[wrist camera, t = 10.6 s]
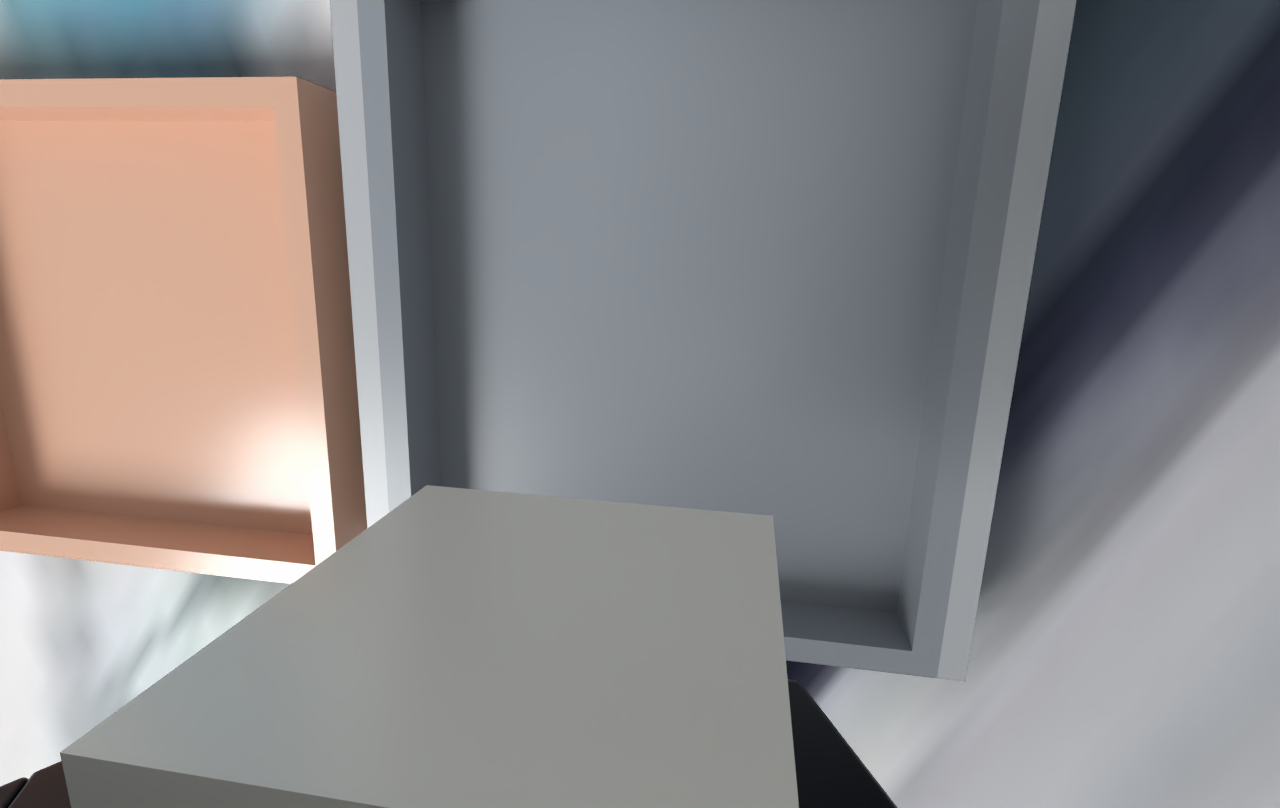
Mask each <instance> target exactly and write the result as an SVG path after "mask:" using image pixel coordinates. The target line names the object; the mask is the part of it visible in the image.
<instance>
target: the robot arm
mask: <svg viewBox="0 0 1280 808" xmlns="http://www.w3.org/2000/svg"><path fill="white" fill-rule="evenodd" d="M788 690H789V701H790V712H791V724H792V735H793V746H794V757H795V769H796V780H797V791H798V802H799V808H897V806H896V805H895V804H894V802H893V801H892V800H891V799H890V797H889V796H888V795H887V793H886V792H885V791H884V790H883V788H882V787H881V786H880V784H879V783H878V782H877V781H876V779H875V778H874V777H873V775H872V774H871V773H870V772H869V770H868V769H867V768H866V766H865V765H864V764H863V763H862V761H861V760H860V759H859V757H858V756H857V755H856V754H855V752H854V751H853V750H852V748H851V747H850V746H849V745H848V743H847V742H846V741H845V739H844V738H843V737H842V736H841V734H840V733H839V732H838V730H837V729H836V728H835V727H834V725H833V724H832V723H831V721H830V720H829V719H828V717H827V716H826V715H825V714H824V712H823V711H822V710H821V708H820V707H819V706H818V705H817V703H816V702H815V701H814V699H813V698H812V697H811V696H810V694H809V693H808V692H807V690H806V689H805V688H804V687H803V685H802V684H801V683H800V682H798V681H796V680H791V679H788ZM0 808H71V804H70V799H69V794H68V789H67V784H66V779H65V774H64V770H63V765H62V761H61V762H58V763H56V764H54V765H51V766H49V767H47V768H44V769H42V770H39V771H37V772H35V773H34V774H33V775H32V776H31V777H30V778H29V779H27V778H20V779H17V780H15V781H13V782H10V783H8V784H6V785H3V786H1V787H0Z"/></svg>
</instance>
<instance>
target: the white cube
mask: <svg viewBox="0 0 1280 808" xmlns="http://www.w3.org/2000/svg"><path fill="white" fill-rule="evenodd" d="M60 755H61V760H62V765H63V770H64V774H65V779H66V784H67V789H68V794H69V799H70V804H71V808H799V802H798V791H797V780H796V769H795V757H794V746H793V735H792V724H791V712H790V701H789V690H788V679H787V667H786V656H785V645H784V634H783V623H782V611H781V600H780V589H779V578H778V566H777V555H776V544H775V533H774V521H773V516H769V515H758V514H747V513H735V512H724V511H713V510H701V509H690V508H679V507H668V506H656V505H645V504H634V503H622V502H611V501H600V500H588V499H577V498H566V497H555V496H543V495H532V494H521V493H509V492H498V491H487V490H475V489H464V488H453V487H442V486H430V485H426V486H425V487H424V488H422V489H421V490H419V491H418V492H417V493H415V494H414V495H413V496H411V497H410V498H409V499H407V500H406V501H404V502H403V503H402V504H400V505H399V506H398V507H396V508H395V509H393V510H392V511H391V512H389V513H388V514H387V515H385V516H384V517H382V518H381V519H380V520H378V521H377V522H376V523H374V524H373V525H372V526H370V527H369V528H367V529H366V530H365V531H363V532H362V533H361V534H359V535H358V536H356V537H355V538H354V539H352V540H351V541H350V542H348V543H347V544H345V545H344V546H343V547H341V548H340V549H339V550H337V551H336V552H334V553H333V554H332V555H330V556H329V557H328V558H326V559H325V560H324V561H322V562H321V563H319V564H318V565H317V566H315V567H314V568H313V569H311V570H310V571H308V572H307V573H306V574H304V575H303V576H302V577H300V578H299V579H297V580H296V581H295V582H293V583H292V584H291V585H289V586H288V587H287V588H285V589H284V590H282V591H281V592H280V593H278V594H277V595H276V596H274V597H273V598H271V599H270V600H269V601H267V602H266V603H265V604H263V605H262V606H260V607H259V608H258V609H256V610H255V611H254V612H252V613H251V614H249V615H248V616H247V617H245V618H244V619H243V620H241V621H240V622H239V623H237V624H236V625H234V626H233V627H232V628H230V629H229V630H228V631H226V632H225V633H223V634H222V635H221V636H219V637H218V638H217V639H215V640H214V641H212V642H211V643H210V644H208V645H207V646H206V647H204V648H203V649H202V650H200V651H199V652H197V653H196V654H195V655H193V656H192V657H191V658H189V659H188V660H186V661H185V662H184V663H182V664H181V665H180V666H178V667H177V668H175V669H174V670H173V671H171V672H170V673H169V674H167V675H166V676H164V677H163V678H162V679H160V680H159V681H158V682H156V683H155V684H154V685H152V686H151V687H149V688H148V689H147V690H145V691H144V692H143V693H141V694H140V695H138V696H137V697H136V698H134V699H133V700H132V701H130V702H129V703H127V704H126V705H125V706H123V707H122V708H121V709H119V710H118V711H117V712H115V713H114V714H112V715H111V716H110V717H108V718H107V719H106V720H104V721H103V722H101V723H100V724H99V725H97V726H96V727H95V728H93V729H92V730H90V731H89V732H88V733H86V734H85V735H84V736H82V737H81V738H79V739H78V740H77V741H75V742H74V743H73V744H71V745H70V746H69V747H67V748H66V749H64V750H63V751H62V752H60Z"/></svg>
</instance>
